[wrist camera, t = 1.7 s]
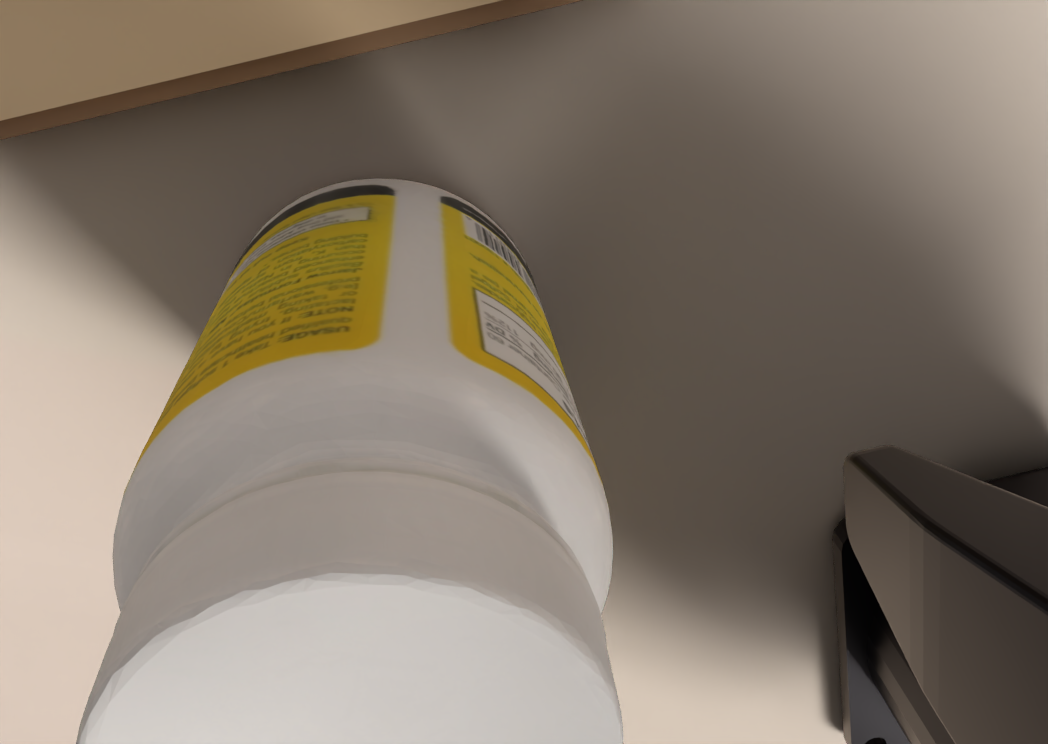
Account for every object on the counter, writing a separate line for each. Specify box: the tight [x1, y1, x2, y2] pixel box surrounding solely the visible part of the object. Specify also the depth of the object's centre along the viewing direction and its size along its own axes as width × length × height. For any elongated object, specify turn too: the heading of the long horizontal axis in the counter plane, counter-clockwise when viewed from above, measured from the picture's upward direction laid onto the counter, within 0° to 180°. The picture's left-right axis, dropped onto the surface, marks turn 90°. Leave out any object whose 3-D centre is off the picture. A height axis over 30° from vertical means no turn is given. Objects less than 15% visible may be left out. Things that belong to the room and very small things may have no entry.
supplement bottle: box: [76, 178, 623, 744], centre depth 10 cm, size 5×5×8 cm
